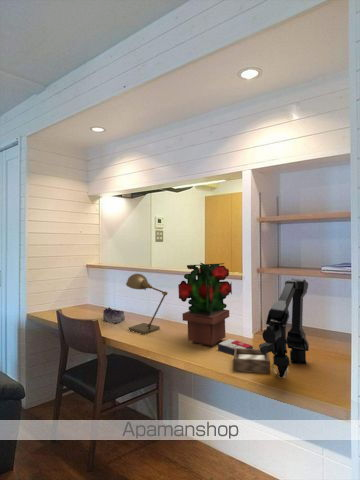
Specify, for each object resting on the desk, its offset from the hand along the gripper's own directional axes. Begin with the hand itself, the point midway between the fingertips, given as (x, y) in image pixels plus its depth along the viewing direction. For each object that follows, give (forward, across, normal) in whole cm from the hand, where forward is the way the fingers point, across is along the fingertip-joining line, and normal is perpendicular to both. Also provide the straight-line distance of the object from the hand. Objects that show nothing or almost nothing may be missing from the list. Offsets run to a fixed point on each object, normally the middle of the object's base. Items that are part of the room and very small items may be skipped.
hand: (280, 372), depth 141 cm
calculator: (+3, -30, -20) cm, 36 cm away
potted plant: (+2, -41, -37) cm, 55 cm away
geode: (+2, -79, -112) cm, 137 cm away
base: (+2, -11, -12) cm, 16 cm away
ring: (+2, 0, 0) cm, 2 cm away
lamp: (+2, -57, -77) cm, 96 cm away
